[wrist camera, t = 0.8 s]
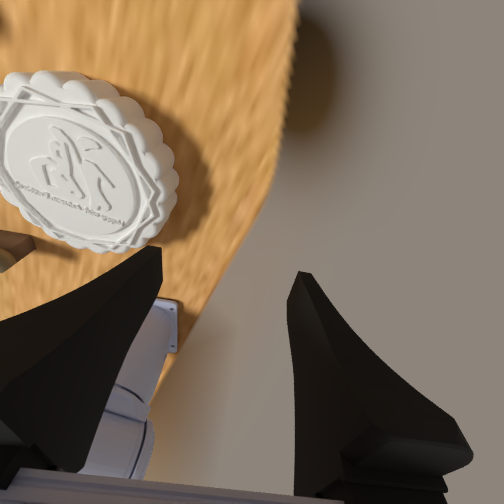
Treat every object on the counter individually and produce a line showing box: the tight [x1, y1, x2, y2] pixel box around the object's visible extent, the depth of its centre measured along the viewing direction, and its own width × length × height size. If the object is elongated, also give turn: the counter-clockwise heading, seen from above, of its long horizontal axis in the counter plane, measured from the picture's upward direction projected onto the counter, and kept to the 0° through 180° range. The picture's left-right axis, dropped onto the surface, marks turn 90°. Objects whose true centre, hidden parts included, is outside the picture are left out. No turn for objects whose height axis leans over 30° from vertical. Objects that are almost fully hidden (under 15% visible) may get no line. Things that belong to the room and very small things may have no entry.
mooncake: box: [0, 70, 179, 254], centre depth 17 cm, size 12×12×4 cm
